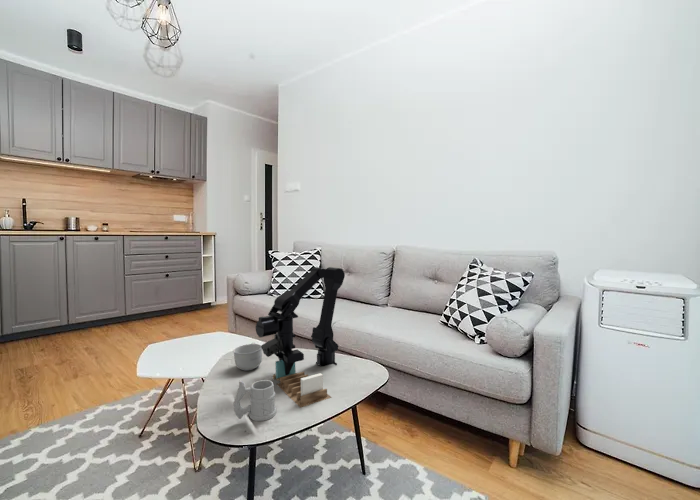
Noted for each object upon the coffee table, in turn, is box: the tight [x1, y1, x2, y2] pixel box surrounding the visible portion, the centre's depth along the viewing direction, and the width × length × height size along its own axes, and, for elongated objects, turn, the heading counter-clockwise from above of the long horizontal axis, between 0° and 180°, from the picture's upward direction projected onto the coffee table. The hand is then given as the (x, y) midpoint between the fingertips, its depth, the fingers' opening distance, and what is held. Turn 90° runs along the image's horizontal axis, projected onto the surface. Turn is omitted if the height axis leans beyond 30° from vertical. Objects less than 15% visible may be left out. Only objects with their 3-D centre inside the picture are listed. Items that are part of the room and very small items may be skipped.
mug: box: [232, 379, 277, 422], centre depth 97 cm, size 8×12×12 cm, turn 112°
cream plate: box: [301, 372, 324, 396], centre depth 107 cm, size 7×2×7 cm, turn 124°
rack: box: [276, 371, 333, 409], centre depth 112 cm, size 11×19×4 cm, turn 34°
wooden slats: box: [272, 372, 297, 382], centre depth 124 cm, size 8×5×2 cm, turn 124°
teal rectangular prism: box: [275, 360, 296, 378], centre depth 124 cm, size 7×2×7 cm, turn 124°
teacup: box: [232, 342, 263, 371], centre depth 136 cm, size 14×11×8 cm
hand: (285, 373), depth 124 cm, fingers open, 3 cm apart
